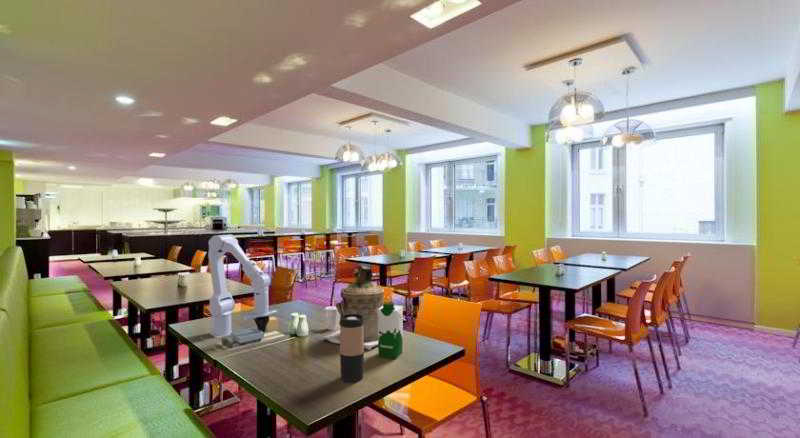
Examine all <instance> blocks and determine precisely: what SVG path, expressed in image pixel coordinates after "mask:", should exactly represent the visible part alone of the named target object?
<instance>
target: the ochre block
mask: <svg viewBox="0 0 800 438" xmlns="http://www.w3.org/2000/svg"><path fill="white" fill-rule="evenodd" d="M268 317H269V318H270V319H269V321H268V323H267V326H266V329H265V331H270V330H279V318H277V317H275V316H268Z"/></svg>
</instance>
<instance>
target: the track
mask: <svg viewBox="0 0 800 438" xmlns="http://www.w3.org/2000/svg"><path fill="white" fill-rule="evenodd" d="M287 337H288V336H287V335H285V334H283V333H281V332H279V331H277V330H276V329H274V330H269V331H267V330H265V333H264V338H262V340H261V341H258V340H257V339H256V340H252V341H247V342H244V345H240V343H238V342H237V341H234V340H233V339H232V338H229V339H228V338H226V337H221V341H218V342H216V344H217V345H218V346H220V347H221V348H223V349H224V350H225V351H227V352H230V351H233V350H238V349H243V348H247V347H250V346H255V345H259V344H262V343H266V342H267V343H268V342H271V341H276V340H279V339H280V340H281V339H283V338H287Z"/></svg>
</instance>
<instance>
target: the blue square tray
mask: <svg viewBox="0 0 800 438" xmlns="http://www.w3.org/2000/svg"><path fill="white" fill-rule="evenodd" d="M229 336H230V339H233V340H234V341H237V342H238V343H240V345H244V342H247V341H252V340H256V339H257V340H258V341H261V340H262V338H264V332H262V331H260V330H258V328H256V327H250V328H245V329H240V330H235V331H232V332H230V335H229Z"/></svg>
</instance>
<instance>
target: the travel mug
mask: <svg viewBox="0 0 800 438" xmlns="http://www.w3.org/2000/svg"><path fill="white" fill-rule="evenodd" d="M340 316H341V315H340ZM339 322H340V325H339V330H340V344H339V357H340V360H339V361H340V380H341V381H342V382H344V383H349V384H350V383H352V384H353V383H354V384H355V383H358V382H361V381H362V380H363V378H364V361H365V360H364V355H365V351H364V349H365V348H364V334H363V316H362V315H359V314H347V315H343V316H341V317H339Z"/></svg>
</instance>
